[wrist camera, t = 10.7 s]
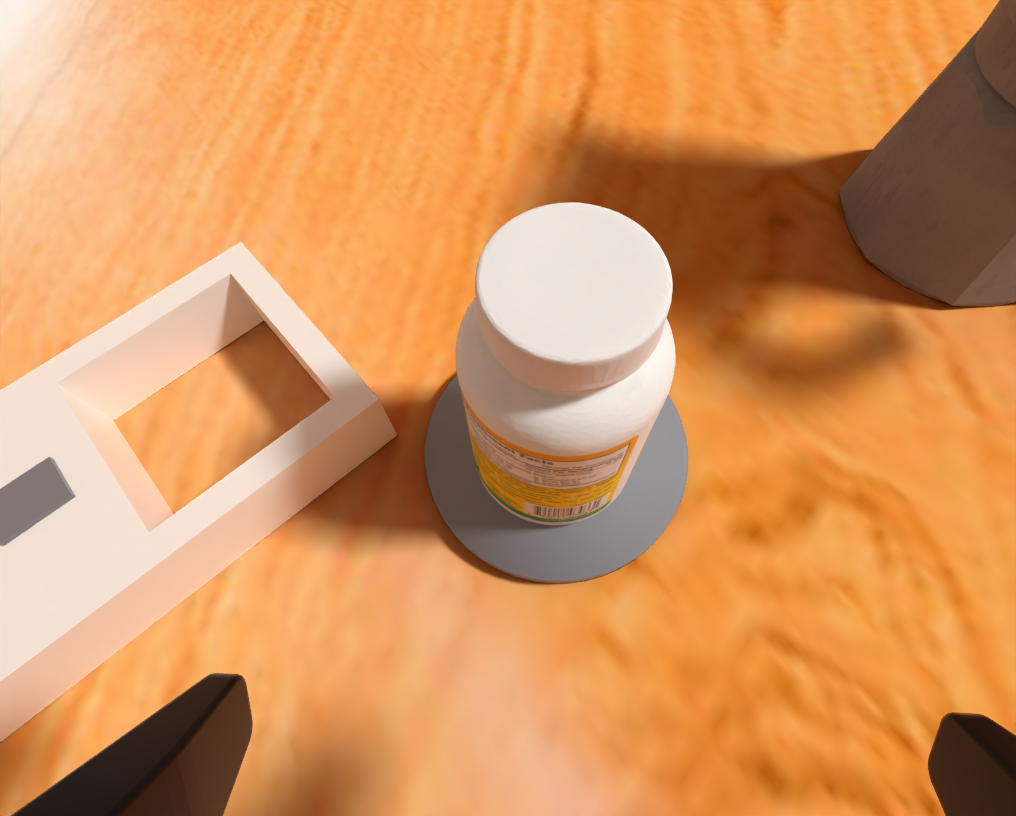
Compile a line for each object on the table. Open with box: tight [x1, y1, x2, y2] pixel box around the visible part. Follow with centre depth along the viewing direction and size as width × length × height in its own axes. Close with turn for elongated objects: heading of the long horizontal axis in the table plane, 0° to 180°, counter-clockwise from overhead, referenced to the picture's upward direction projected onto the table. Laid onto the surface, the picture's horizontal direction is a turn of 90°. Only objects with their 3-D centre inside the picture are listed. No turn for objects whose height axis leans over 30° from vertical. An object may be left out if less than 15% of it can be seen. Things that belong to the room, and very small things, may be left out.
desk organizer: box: [0, 242, 397, 742], centre depth 20 cm, size 15×8×3 cm, turn 131°
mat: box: [425, 375, 688, 584], centre depth 21 cm, size 9×9×1 cm
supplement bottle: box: [456, 202, 675, 525], centre depth 17 cm, size 5×5×10 cm
